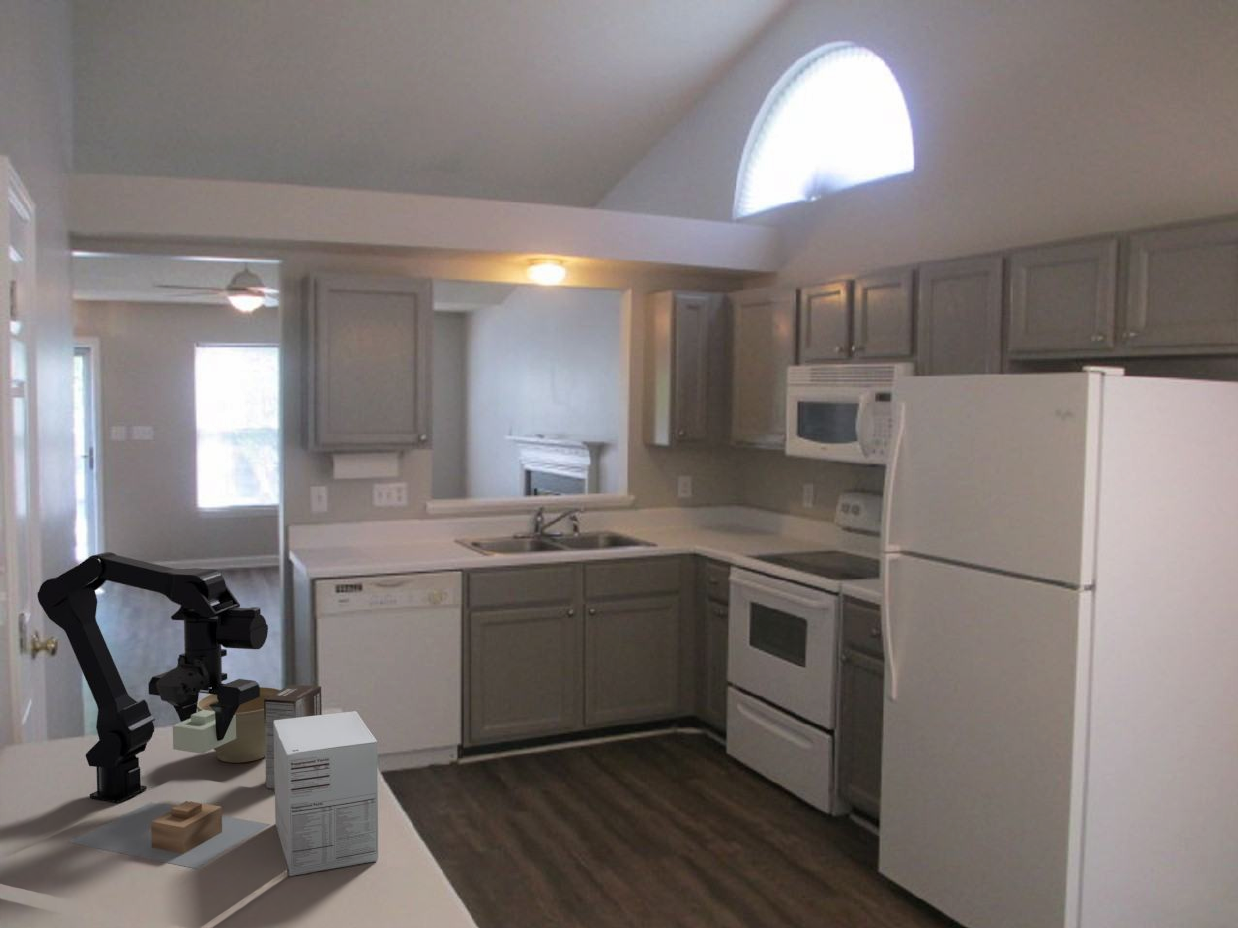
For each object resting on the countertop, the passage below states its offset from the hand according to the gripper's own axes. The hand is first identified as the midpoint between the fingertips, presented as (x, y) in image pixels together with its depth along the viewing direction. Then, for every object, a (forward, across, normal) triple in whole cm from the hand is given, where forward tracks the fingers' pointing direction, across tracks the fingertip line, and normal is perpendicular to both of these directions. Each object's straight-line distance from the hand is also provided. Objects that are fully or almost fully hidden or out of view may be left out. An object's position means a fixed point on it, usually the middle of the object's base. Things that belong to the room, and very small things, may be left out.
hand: (204, 737), depth 171 cm
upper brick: (+1, 0, 0) cm, 1 cm away
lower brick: (+10, +10, -15) cm, 20 cm away
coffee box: (+11, +8, +13) cm, 19 cm away
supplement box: (+11, +29, -7) cm, 32 cm away
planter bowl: (+11, -9, +20) cm, 25 cm away
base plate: (+11, +6, -14) cm, 19 cm away
